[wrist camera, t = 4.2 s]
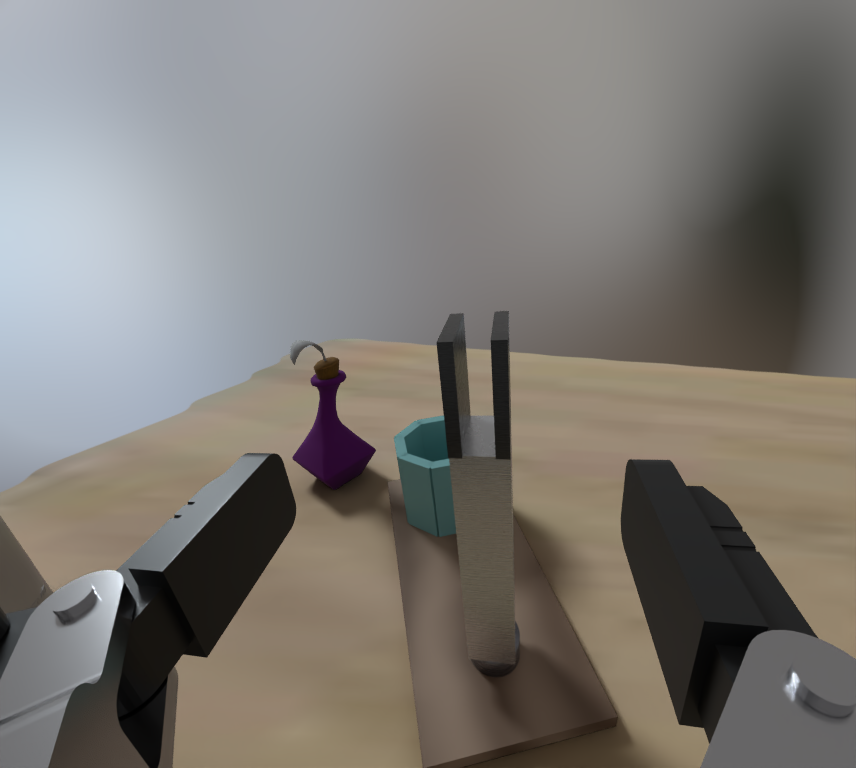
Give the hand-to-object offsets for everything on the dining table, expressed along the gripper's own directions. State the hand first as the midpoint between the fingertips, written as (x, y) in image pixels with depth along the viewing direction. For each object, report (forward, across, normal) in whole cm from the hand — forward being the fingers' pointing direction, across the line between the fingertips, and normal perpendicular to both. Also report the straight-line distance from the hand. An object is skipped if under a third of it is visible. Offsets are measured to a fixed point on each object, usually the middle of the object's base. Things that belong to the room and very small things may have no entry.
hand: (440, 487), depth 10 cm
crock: (+26, +6, +23) cm, 36 cm away
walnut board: (+19, +3, +24) cm, 31 cm away
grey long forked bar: (+11, 0, +24) cm, 26 cm away
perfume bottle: (+32, +20, +24) cm, 45 cm away
